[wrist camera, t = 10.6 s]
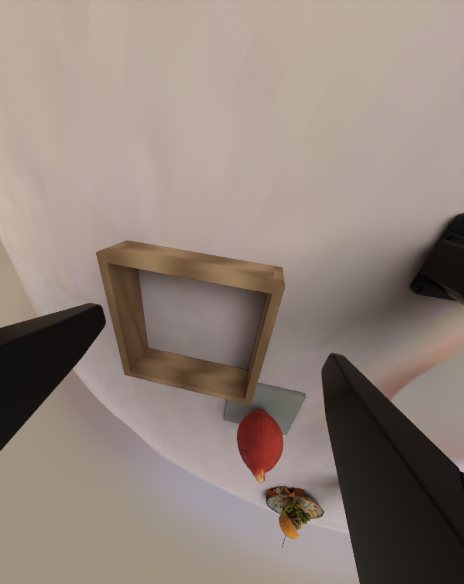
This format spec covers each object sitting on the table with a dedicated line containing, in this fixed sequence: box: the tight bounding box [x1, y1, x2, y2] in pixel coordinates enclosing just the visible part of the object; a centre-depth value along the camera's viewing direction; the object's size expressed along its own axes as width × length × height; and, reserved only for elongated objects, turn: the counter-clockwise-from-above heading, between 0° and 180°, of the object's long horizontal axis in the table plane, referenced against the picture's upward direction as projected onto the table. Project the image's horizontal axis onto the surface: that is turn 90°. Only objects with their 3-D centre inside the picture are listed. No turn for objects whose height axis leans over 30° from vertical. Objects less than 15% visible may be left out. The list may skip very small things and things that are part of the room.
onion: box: [237, 408, 283, 483], centre depth 25 cm, size 6×6×8 cm
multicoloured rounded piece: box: [266, 486, 324, 539], centre depth 39 cm, size 12×12×8 cm
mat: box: [224, 383, 306, 435], centre depth 29 cm, size 10×10×1 cm
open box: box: [96, 241, 285, 405], centre depth 21 cm, size 16×16×4 cm
